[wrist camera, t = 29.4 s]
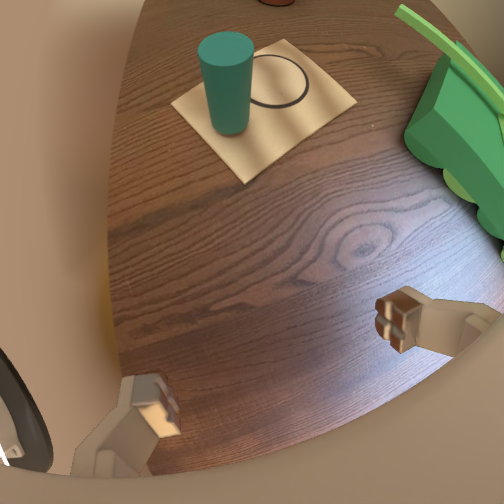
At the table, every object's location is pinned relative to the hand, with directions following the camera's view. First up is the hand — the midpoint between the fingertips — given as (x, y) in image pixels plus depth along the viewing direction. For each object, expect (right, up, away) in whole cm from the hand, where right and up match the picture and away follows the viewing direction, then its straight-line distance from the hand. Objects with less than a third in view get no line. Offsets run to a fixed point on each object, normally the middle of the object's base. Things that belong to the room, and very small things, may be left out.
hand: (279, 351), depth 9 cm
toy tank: (+27, +17, +18) cm, 37 cm away
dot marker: (-3, +16, +16) cm, 23 cm away
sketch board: (+1, +19, +17) cm, 25 cm away
